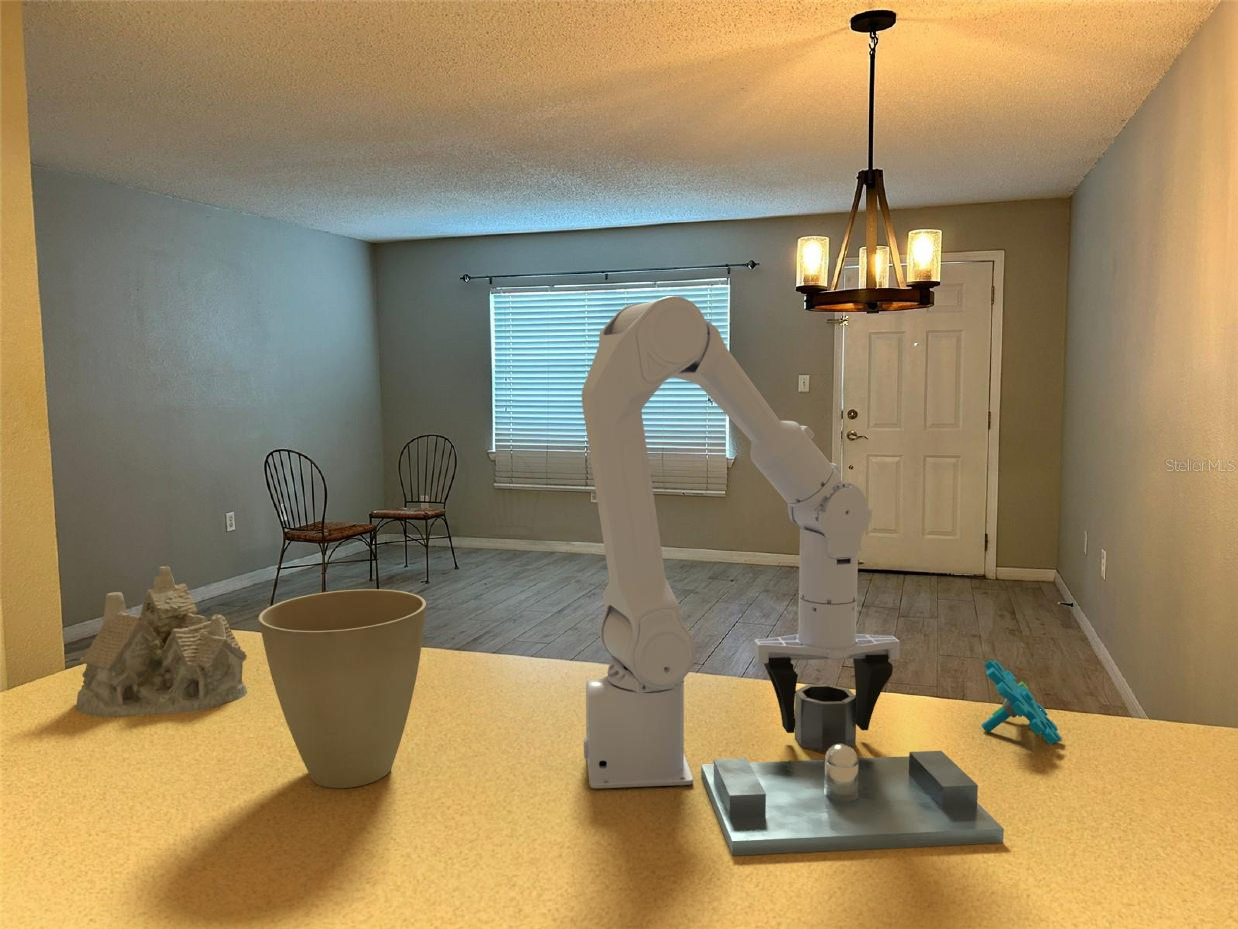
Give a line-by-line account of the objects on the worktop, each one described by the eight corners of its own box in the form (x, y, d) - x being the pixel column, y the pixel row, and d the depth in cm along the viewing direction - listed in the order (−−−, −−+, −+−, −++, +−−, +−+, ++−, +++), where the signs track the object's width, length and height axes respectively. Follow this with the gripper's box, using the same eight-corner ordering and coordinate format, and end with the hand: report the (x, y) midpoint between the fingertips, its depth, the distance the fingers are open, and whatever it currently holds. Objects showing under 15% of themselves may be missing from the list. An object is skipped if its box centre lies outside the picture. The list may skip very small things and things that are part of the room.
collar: (805, 753, 90) (806, 704, 89) (790, 731, 95) (790, 685, 95) (861, 751, 90) (862, 703, 90) (842, 729, 96) (843, 683, 95)
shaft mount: (732, 855, 71) (732, 786, 70) (701, 776, 85) (701, 718, 84) (1003, 843, 72) (1005, 775, 72) (929, 767, 86) (931, 711, 86)
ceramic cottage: (62, 699, 105) (62, 573, 103) (203, 670, 117) (206, 556, 116) (115, 743, 95) (116, 604, 93) (263, 706, 107) (267, 582, 106)
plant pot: (345, 731, 96) (340, 583, 94) (461, 756, 89) (457, 598, 88) (229, 789, 82) (221, 617, 81) (355, 824, 76) (349, 638, 74)
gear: (1065, 747, 87) (990, 662, 91) (1015, 781, 89) (943, 698, 92) (1068, 723, 97) (1000, 648, 100) (1023, 755, 99) (958, 680, 102)
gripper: (766, 609, 87) (764, 746, 88) (913, 605, 88) (909, 741, 89) (749, 592, 94) (748, 719, 95) (886, 588, 95) (883, 714, 96)
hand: (825, 728), depth 92 cm, fingers open, 7 cm apart
